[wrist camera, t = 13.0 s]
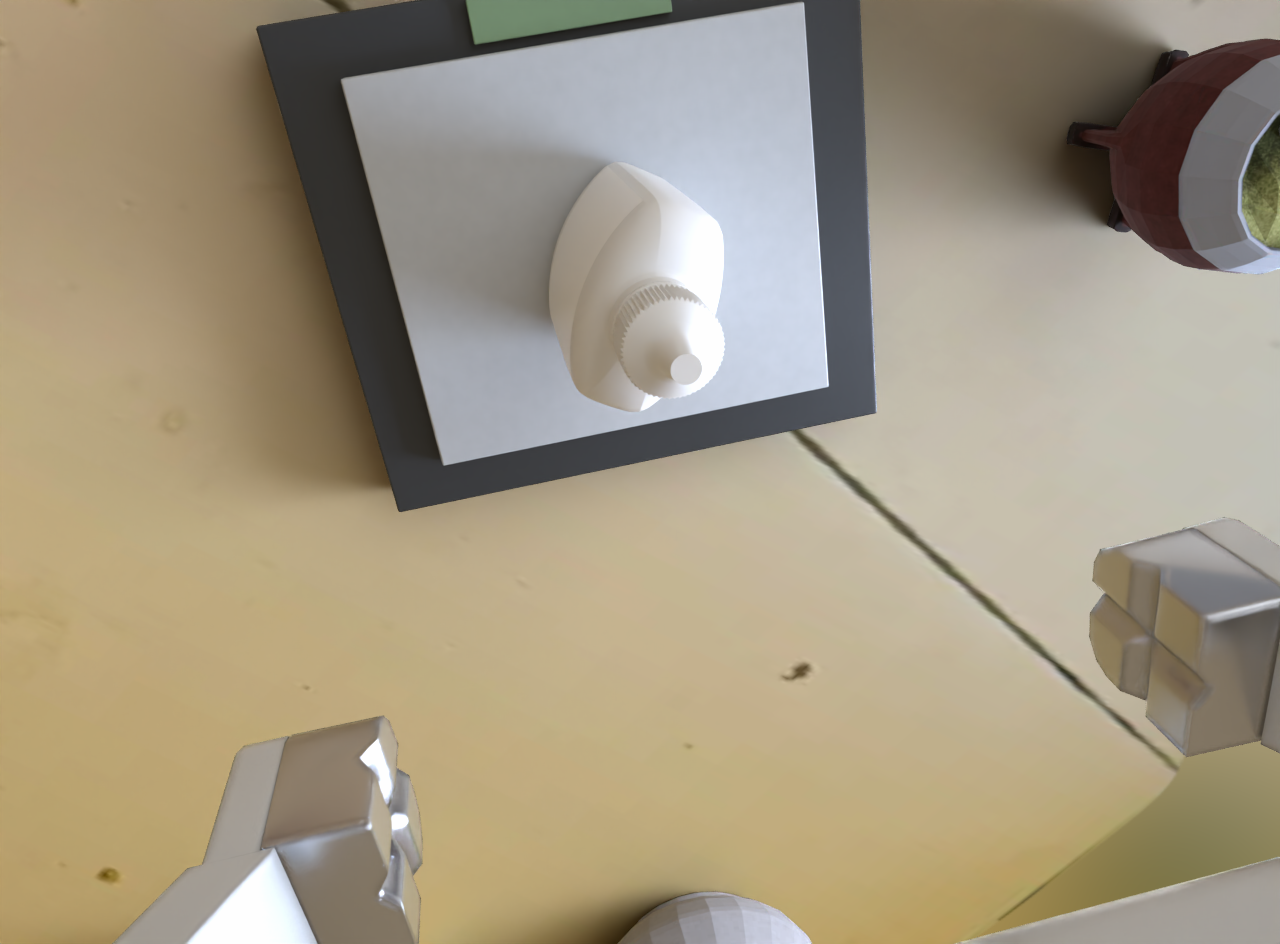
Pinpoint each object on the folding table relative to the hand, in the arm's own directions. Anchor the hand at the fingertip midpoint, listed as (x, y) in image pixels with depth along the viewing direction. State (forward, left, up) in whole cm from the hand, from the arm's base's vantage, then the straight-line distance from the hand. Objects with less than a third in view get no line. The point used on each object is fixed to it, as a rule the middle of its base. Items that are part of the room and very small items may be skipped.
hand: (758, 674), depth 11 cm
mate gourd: (0, +22, -25) cm, 33 cm away
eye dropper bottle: (0, +1, -23) cm, 23 cm away
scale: (0, +2, -25) cm, 25 cm away
